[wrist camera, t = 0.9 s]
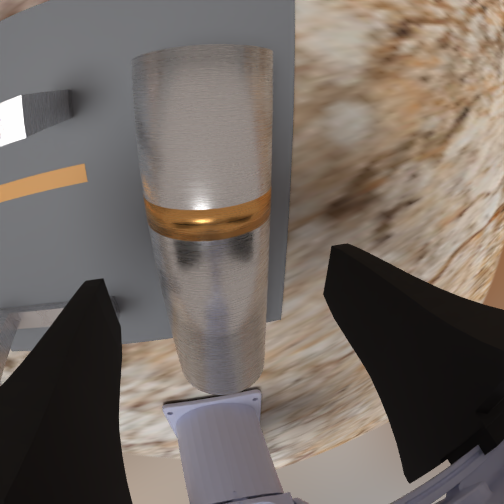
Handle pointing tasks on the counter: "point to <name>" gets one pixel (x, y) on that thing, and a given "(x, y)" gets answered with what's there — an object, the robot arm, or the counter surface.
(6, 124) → the collar
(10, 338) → the collar
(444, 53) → the counter surface
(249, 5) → the board
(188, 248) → the tube
